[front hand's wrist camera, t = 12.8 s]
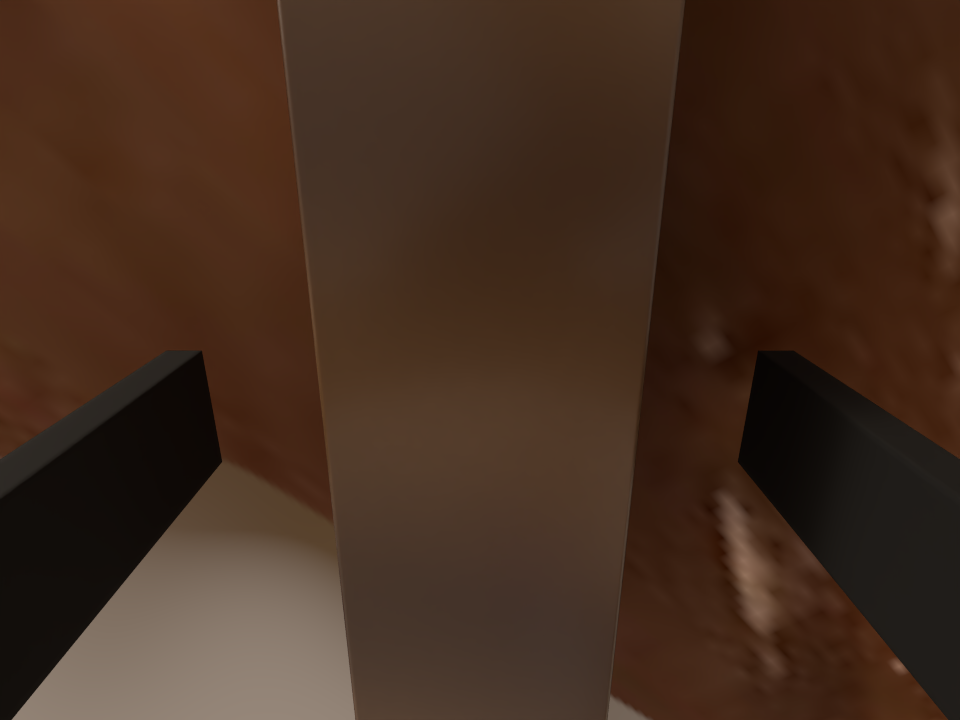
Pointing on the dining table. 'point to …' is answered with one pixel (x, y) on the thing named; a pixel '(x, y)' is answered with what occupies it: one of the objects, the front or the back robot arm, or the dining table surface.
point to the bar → (481, 331)
